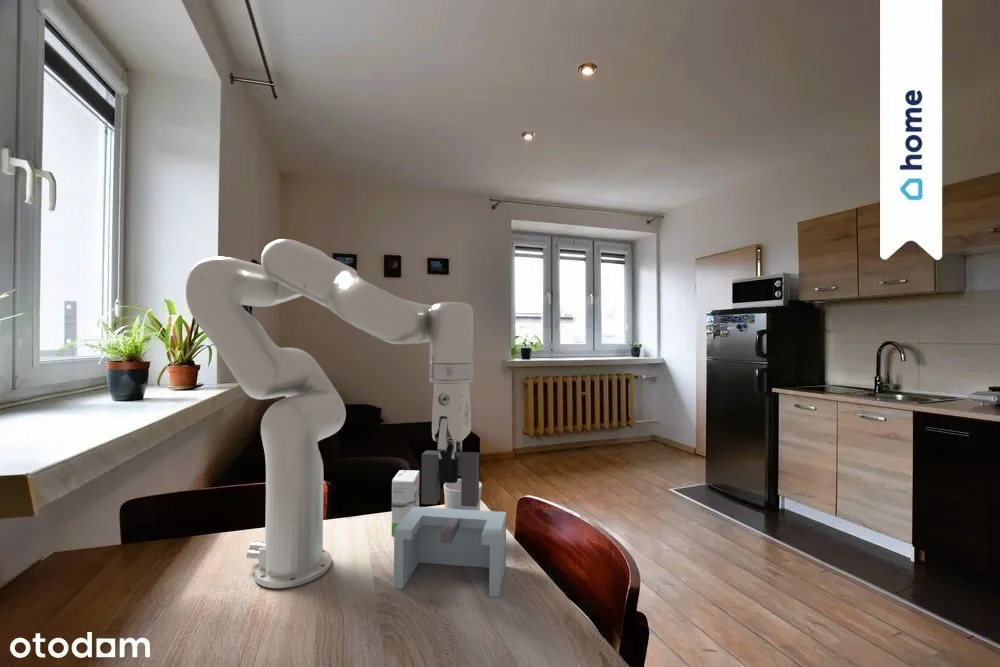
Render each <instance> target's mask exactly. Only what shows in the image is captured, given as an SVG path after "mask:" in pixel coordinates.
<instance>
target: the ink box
mask: <svg viewBox="0 0 1000 667" xmlns="http://www.w3.org/2000/svg"><path fill="white" fill-rule="evenodd" d="M420 473H421V472H420V470H415V469H414V470H411V469H410V470H409V469H408V470H406V469H405V470H404V469H401V470H400V469H399V470H398V472H397V473H396V474H395V476H394V477H393V478H392V481H391V536H392V537H394V529H395V528H396V527H397V525H398V524H399V523H400V522H401V521H402V519H403V518H404V517H405V516H406V515H407V514H408V512H409V511H410V510H411V509H412V508H413V507H420Z"/></svg>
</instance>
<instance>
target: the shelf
mask: <svg viewBox="0 0 1000 667" xmlns="http://www.w3.org/2000/svg"><path fill="white" fill-rule="evenodd" d="M393 537H394V538H393V542H394V543H393V589H398V590H403V589H404V588H405V586H406V585H407V582H408V581H409V580H410V578H411V576H412V574H413V573H414V572H415V570H416V568H417V566H418V565H419V564H420V563H421V564H422V563H423V564H433V565H448V566H458V567H459V566H461V567H473V568H487V569H489V572H488V573H489V574H488V576H489V577H488V578H489V582H488V583H489V585H488V589H489V590H488V591H489V592H488V593H489V594H488V595H489V597H491V598H492V597H494V598H500V594H501V590H502V584H503V580H504V575H505V571H506V566H507V565H506V564H507V562H506V560H507V558H506V557H507V551H506V550H507V511H494V510H493V511H492V510H481V509H480V510H463V509H446V508H445V507H443V508H441V507H427V506H419V507H413V508H412V509H411V510H410V511H409V512H408V514H407V515H406V516H405V517H404V518H403V519H402V521H401V522H400V523H399V524H398V525H397V527H396V528H395V529H394V536H393Z"/></svg>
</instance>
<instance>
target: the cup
mask: <svg viewBox="0 0 1000 667" xmlns="http://www.w3.org/2000/svg"><path fill="white" fill-rule="evenodd" d="M482 488H483V483H482V482H481V481H479V502H478V504H477V506H476V507H472V506H461V478H458V481H457V482H456V483H443V493H444V508H446V509H463V510H480V511H481V509H480V508H481V500H482Z"/></svg>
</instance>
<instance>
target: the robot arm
mask: <svg viewBox="0 0 1000 667" xmlns="http://www.w3.org/2000/svg"><path fill="white" fill-rule="evenodd" d="M260 262H261V264H258V263H254V262H250V261H246V260H243V259H238V258H234V257H228V256H227V257H226V256H213V257H211V256H210V257H207V258H204V259H202V260H200V261H198V262H196V264H195V265H194V266H192V268H191V270H190V272H189V273H188V277H187V279H186V283H185V284H186V285H185V299H186V303H187V307H188V310H189V312H190V314H191V317H192V318H193V319H194V321H195V322H196V324H197V325H198V326H199V328H200V329H201V330H202V332H203V333H204V334H205V336H206V337H207V338H208V339H209V341H210V343H212V345H213V346H214V348H215V349H216V350H217V352H218V354H219V355H220V357H221V358H222V360H223V362H224V363H225V364H226V367H227V368H228V369H229V371H230V372H231V373H232V375H233V377H234V379H235V380H236V381H237V383H238V384H239V386H240V387H241V389H242V391H244V393H245V394H246V395H247V396H249V397H250V398H252V399H255V400H269V399H276V398H280V397H284V398H281V399H279V400H277V401H276V402H274V403H272V405H270V406H269V407H268V408H267V409H266V411H265V412H264V414H263V416H262V419H261V421H260V422H261V423H260V436H261V441H262V446H263V450H264V458H265V528H264V530H265V532H264V534H265V535H264V538H265V539H264V541H252V542H251V543H250V545H249V547H248V548H249V549H248V551H247V553H246V559H251V560H255V559H256V560H258V565H257V567H255V569H254V570H255V571H254V580H255V582H256V583H257V584H258V585H260V586H262V587H264V588H269V589H287V588H288V589H289V588H293V587H297V586H301V585H305V584H308V583H310V582H312V581H315V580H317V579H318V578H320V577H321V576H323V575H324V574H325V573H326V572H327V571H329V569H330V568H331V565H332V555H331V553H330V552H329V551H327V550H326V549H323V546H324V545H323V543H324V542H323V541H324V540H323V537H324V531H323V530H324V461H323V458H322V455H321V452H320V450H319V444H318V442H320V441H321V440H324V439H326V438H329V437H331V436H333V435H334V434H336V433H337V432H339V430H341V428H342V427H343V426H344V424H345V421H346V417H347V411H346V406H345V404H344V401H343V399H342V397H341V395H340V394H339V392H338V391H337V389H336V388H335V387H334V385H333V383H332V382H331V380H330V379H329V378H328V376H327V374H326V373H325V372H324V370H323V368H322V367H321V366H320V365H319V363H318V361H317V360H316V359H315V358H314V356H312V355H311V354H310V353H308V352H307V351H305V350H303V349H300V348H296V347H281V346H278V345H277V344H276V343H275V342H274V341H273V340H272V339H271V338H270V336H269V335H268V333H267V331H266V330H265V328H264V327H263V325H262V324H261V323H260V321H258V319H257V318H255V316H253V315H252V314H251V313H250V312H248V311H247V310H246V309H245V308H244V306H248V307H258V308H259V307H260V308H262V307H263V308H267V307H272V306H276V305H279V304H282V303H285V302H288V301H292V300H294V299H297V298H301V297H305V298H307V299H309V300H312V301H313V302H315V303H317V304H318V305H321V306H323V307H324V308H327V309H329V310H330V311H331V312H332V313H333V314H334V315H336V316H338V317H339V318H340V319H342V320H343V321H344V322H346V323H348V324H349V325H351V326H353V327H355V328H356V329H358V330H361V331H363V332H365V333H367V334H369V336H373V337H374V338H377V339H379V340H380V341H383V342H386V343H388V344H393V345H417V344H418V345H419V344H423V343H429V383H432V384H433V395H432V411H431V412H432V413H431V419H432V420H431V434H432V436H431V437H432V439H433V441H434V442H436V443H437V451H439V482H440V484H441V483H443V484H445V483H456V482H457V481H458V479H459V478H461V476H458V459H456V452H463V441H464V439H466V438H467V437H468V436H469V435H470V433H471V431H472V414H471V413H472V412H471V411H472V409H471V408H472V406H471V390H470V383H473V382H474V379H473V378H474V377H473V376H474V375H473V374H474V363H473V362H474V309H473V307H472V306H471V305H470V304H469V303H466V302H459V301H458V302H457V301H441V302H437V303H434V304H424V303H419V302H416V301H411V300H408V299H403V298H401V297H399V296H396V295H395V294H392V293H391V292H389V291H387V290H384V289H382V288H380V287H378V286H376V285H374V284H372V283H370V282H368V281H366V280H365V279H363V278H361V277H360V276H359V275H358V271H357V270H356V269H355V268H353V267H351V266H349V265H347V264H345V263H343V262H341V261H339V260H336V259H334V258H332V257H330V256H328V255H327V254H326V253H325V252H324V251H322V250H321V249H318V248H316V247H314V246H311V245H309V244H306V243H303V242H300V241H297V240H294V239H290V238H289V239H288V238H279V239H276V240H274V241H271V242H270V243H268V244H267V245H266V246H265V247H264V249H263V250H262V253H261V256H260Z"/></svg>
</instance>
